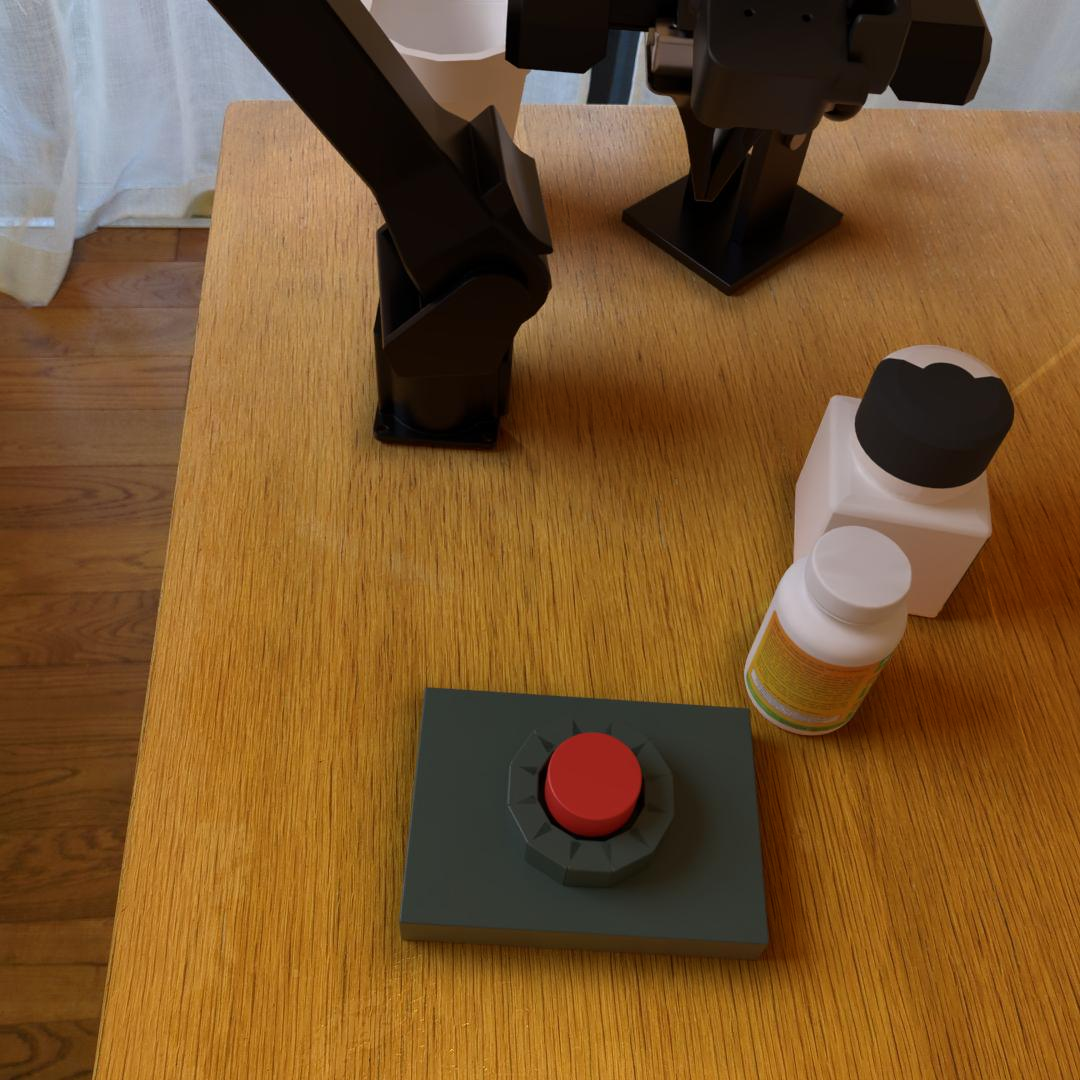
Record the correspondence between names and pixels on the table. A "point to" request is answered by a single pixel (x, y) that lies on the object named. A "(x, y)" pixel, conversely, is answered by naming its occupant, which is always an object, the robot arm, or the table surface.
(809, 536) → the medicine bottle
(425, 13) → the white flower pot
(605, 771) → the button
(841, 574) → the supplement bottle
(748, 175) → the bracket
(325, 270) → the table surface
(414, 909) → the button block
